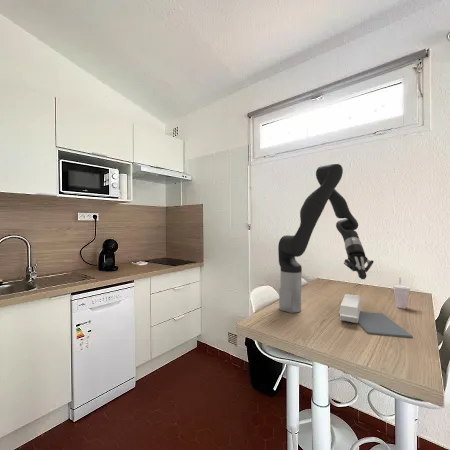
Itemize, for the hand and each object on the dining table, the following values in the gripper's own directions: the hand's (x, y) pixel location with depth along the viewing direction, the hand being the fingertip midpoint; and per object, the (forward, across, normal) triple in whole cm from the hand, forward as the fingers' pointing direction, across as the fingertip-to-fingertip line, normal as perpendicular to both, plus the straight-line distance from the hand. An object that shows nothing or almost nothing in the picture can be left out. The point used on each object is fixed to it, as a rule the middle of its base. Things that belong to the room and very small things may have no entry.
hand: (363, 278), depth 106 cm
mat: (+20, 0, +1) cm, 20 cm away
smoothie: (+3, +20, +18) cm, 28 cm away
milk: (+6, -3, +10) cm, 12 cm away
